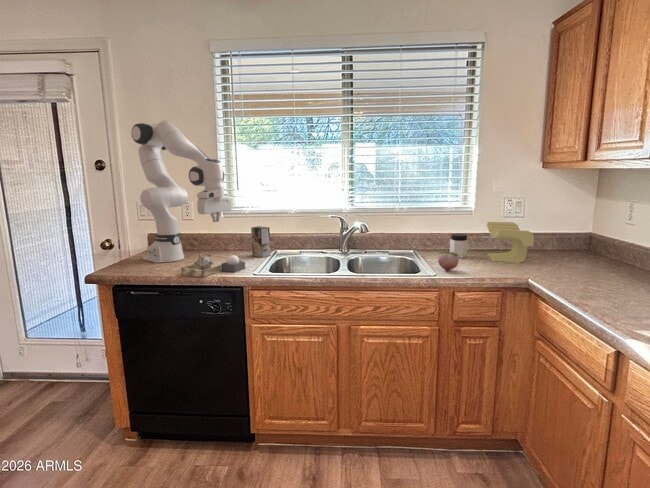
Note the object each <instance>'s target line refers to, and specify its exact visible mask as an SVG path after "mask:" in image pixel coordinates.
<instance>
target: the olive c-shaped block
mask: <svg viewBox="0 0 650 488" xmlns="http://www.w3.org/2000/svg"><path fill="white" fill-rule="evenodd" d="M486 225H487V230H488V233H489V235H490V236H491V237H492V238H493V239H497V240H498V239H499V240H509V241H511V244H512V248H511V250H510V251H507V252H498V253H497V252H496V253H495V252H494V253H493V252H489V253H488V254H487V257H488V256H489V257H490V258H491V259H490V258H489V257H488V258H489V259H490V260H491V262H492V261H513V262H521V263H523V262H524V261H525V260H526V258H527V255H528V248H529V247H534V244H535V243H534V240H535V237H534V234H533V233H532V232H531V231H529V230H521V229H520V228H519V225H518V224H517V223H516V222H510V221H487V224H486Z"/></svg>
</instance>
